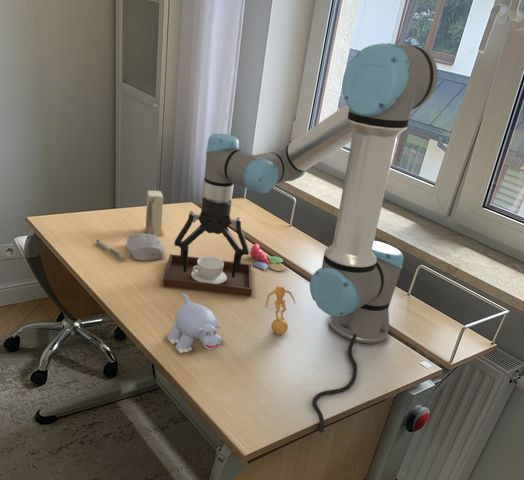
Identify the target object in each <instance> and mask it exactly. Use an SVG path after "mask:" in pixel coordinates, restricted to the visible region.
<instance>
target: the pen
mask: <svg viewBox="0 0 524 480" xmlns="http://www.w3.org/2000/svg"><path fill="white" fill-rule="evenodd" d="M95 242H96V244H97V246H98V247H100V248H102V249H103V250H107V251H109V252H110V253H112V254H113V255H114V256H116V257H117V258H119V259H121V260H125V257H124V256H123V255H122V254H121V253H119V252H118V251H116V250H115V249H113V248H112V247H110V246H109V245H107V244H106V243H104V242H102V241H101V240H99V239H95Z"/></svg>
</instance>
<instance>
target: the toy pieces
mask: <svg viewBox="0 0 524 480" xmlns="http://www.w3.org/2000/svg"><path fill="white" fill-rule="evenodd" d="M249 255H250V257H251V258H252V259H255V260H259V261H254V262H253V263H252V265H253V266H254V267H255V268H257V269H261V270H263V271H265V270H266V269H267V268H269V269H270V270H272V271H275V272H284V270H285V269H286V267H285V266H283V265H282V264H281V263H284V259H282V257H279V256H276V255H275V256H274V255H272V256H271V255H269V257H267V256H266V255H265V253H264V252H263V249H261V248H260V245H259V244H258V243H254V244H253V245H252V246H251V248H250V250H249ZM279 263H280V264H279ZM268 264H269V265H268Z"/></svg>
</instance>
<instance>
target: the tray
mask: <svg viewBox="0 0 524 480" xmlns="http://www.w3.org/2000/svg"><path fill="white" fill-rule="evenodd" d="M199 258H200V257H197V256H188V260H187V270H186V272H183V269H184V259H181V258H180V255H179V254H171V253H170V254H169V256H168V260H167V264H166V267H165V271H164V274H163V280H162V287H164V288H165V287H166V288H173V289H180V290H181V289H182V290H189V291H190V290H191V291H199V292H207V293H216V294H217V293H218V294H225V295H233V296H241V297H250V298H251V297H252V291H253V285H252V284H253V281H252V280H253V279H252V277H253V276H252V275H253V274H252V264H251V263H245V262H241V264H240V266H236V270H235V278H232V269H233V262H234V261H230V260H229V261H227V260H222V261H223V262H224V266H223V270H222V272H223V273H225V275H226V276H227V279H226V281H225V282H223V283H220V284H214V283H206V282H198V281H196V280H195V279H193V278H192V276H191V273H192V271H193V267H194V266H197V260H198V259H199ZM195 269H197V268H195Z"/></svg>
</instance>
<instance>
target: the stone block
mask: <svg viewBox="0 0 524 480" xmlns="http://www.w3.org/2000/svg"><path fill="white" fill-rule="evenodd" d="M126 249H127V253H128V255H129V257H131V258H132V259H134V260H139V261H143V262H145V261H156V260H157V261H158V260H162V259H163V258H164V246H163V243H162V242H161V241H160V239H159V235H157V234H155V235H151V234H147V233H142V232H141V233H135V234H130V235H129V236H127V237H126Z"/></svg>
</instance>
